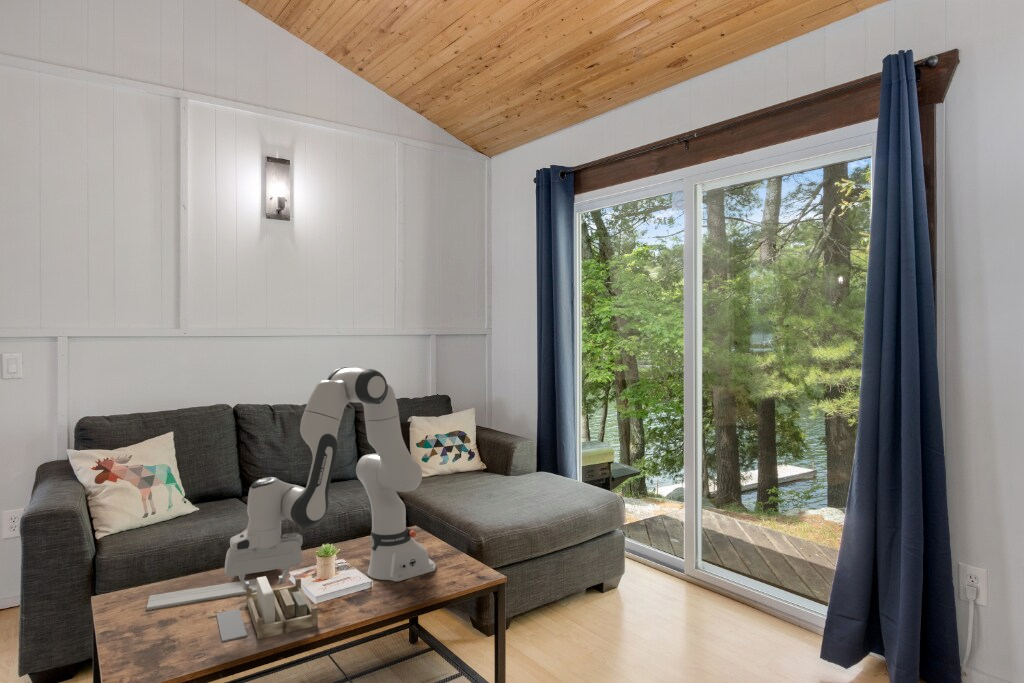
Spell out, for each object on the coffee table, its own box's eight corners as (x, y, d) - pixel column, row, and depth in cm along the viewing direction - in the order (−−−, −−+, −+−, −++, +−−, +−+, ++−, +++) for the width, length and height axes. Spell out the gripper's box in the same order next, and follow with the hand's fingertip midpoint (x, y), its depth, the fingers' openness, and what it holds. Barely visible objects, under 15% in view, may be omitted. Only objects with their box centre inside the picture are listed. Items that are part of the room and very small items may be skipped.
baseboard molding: (150, 596, 194) (146, 612, 183) (150, 587, 194) (146, 603, 183) (259, 579, 207) (261, 593, 196) (259, 570, 207) (261, 584, 196)
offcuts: (296, 598, 191) (296, 583, 191) (307, 619, 177) (306, 603, 177) (279, 601, 189) (279, 586, 188) (289, 623, 175) (289, 607, 175)
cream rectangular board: (266, 606, 186) (265, 576, 186) (275, 629, 172) (274, 596, 172) (257, 608, 185) (256, 577, 184) (265, 631, 171) (264, 598, 170)
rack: (300, 593, 195) (300, 577, 195) (317, 625, 173) (317, 607, 173) (246, 604, 187) (246, 587, 187) (257, 639, 166) (257, 620, 166)
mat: (239, 610, 183) (239, 608, 183) (246, 636, 167) (246, 635, 167) (216, 614, 180) (216, 613, 180) (221, 642, 165) (221, 640, 165)
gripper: (300, 528, 185) (300, 575, 186) (224, 539, 175) (223, 588, 176) (304, 534, 180) (304, 582, 180) (226, 545, 170) (226, 597, 170)
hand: (264, 585), depth 178 cm, fingers open, 8 cm apart
